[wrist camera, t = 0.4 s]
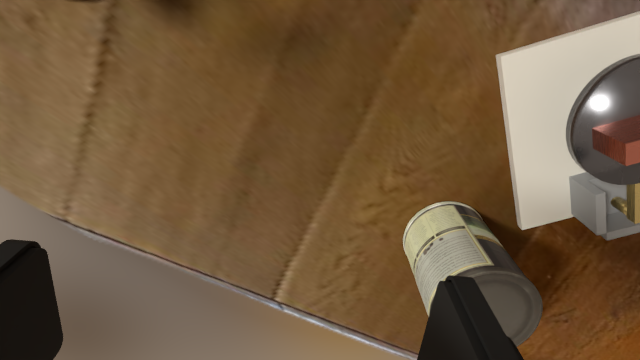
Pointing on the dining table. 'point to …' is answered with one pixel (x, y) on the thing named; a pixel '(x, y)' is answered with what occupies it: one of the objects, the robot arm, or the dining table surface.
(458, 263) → the coffee can
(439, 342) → the robot arm
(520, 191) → the pedestal
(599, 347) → the dining table surface
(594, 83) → the handwheel
